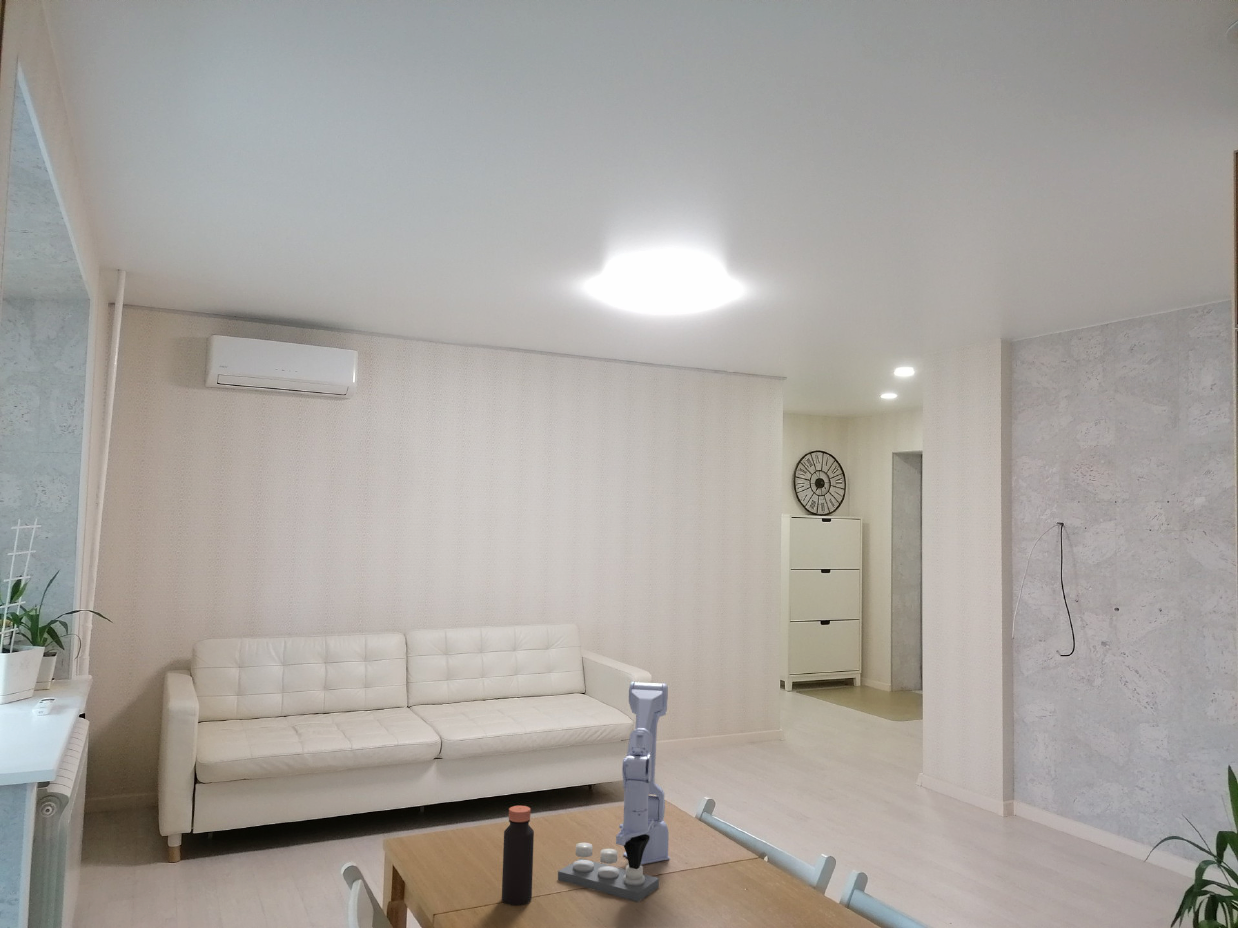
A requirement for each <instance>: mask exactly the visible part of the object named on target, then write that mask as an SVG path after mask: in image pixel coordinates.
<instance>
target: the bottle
mask: <svg viewBox="0 0 1238 928" xmlns="http://www.w3.org/2000/svg"><path fill="white" fill-rule="evenodd" d="M531 810H532V809H531V807H529V806H527V805H514V806H511V807H508V822H509V825H508V826H507V827H506V828H505V830H504V832H503V853H502V882H501V883H502V884H501V901H502V902H503V903H504V904H506V905H509V906H524V905H526V904H529V903H530V902H531V901H532V899H533V896H532V895H533V871H534V870H533V866H534V837H535V836H534V835H535V830H534V829H533V828H532V827H531V825H529V823H530V822H531V814H532V813H531V812H532V811H531Z"/></svg>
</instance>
